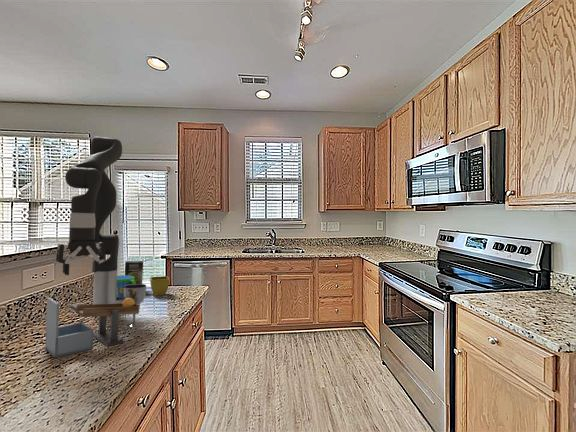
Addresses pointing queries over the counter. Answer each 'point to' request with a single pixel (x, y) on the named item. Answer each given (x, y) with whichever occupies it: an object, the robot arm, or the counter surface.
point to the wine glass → (135, 299)
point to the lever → (103, 309)
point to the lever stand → (106, 335)
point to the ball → (128, 302)
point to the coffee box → (134, 270)
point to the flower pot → (159, 285)
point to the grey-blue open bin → (65, 334)
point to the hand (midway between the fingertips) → (81, 273)
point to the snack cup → (123, 284)
